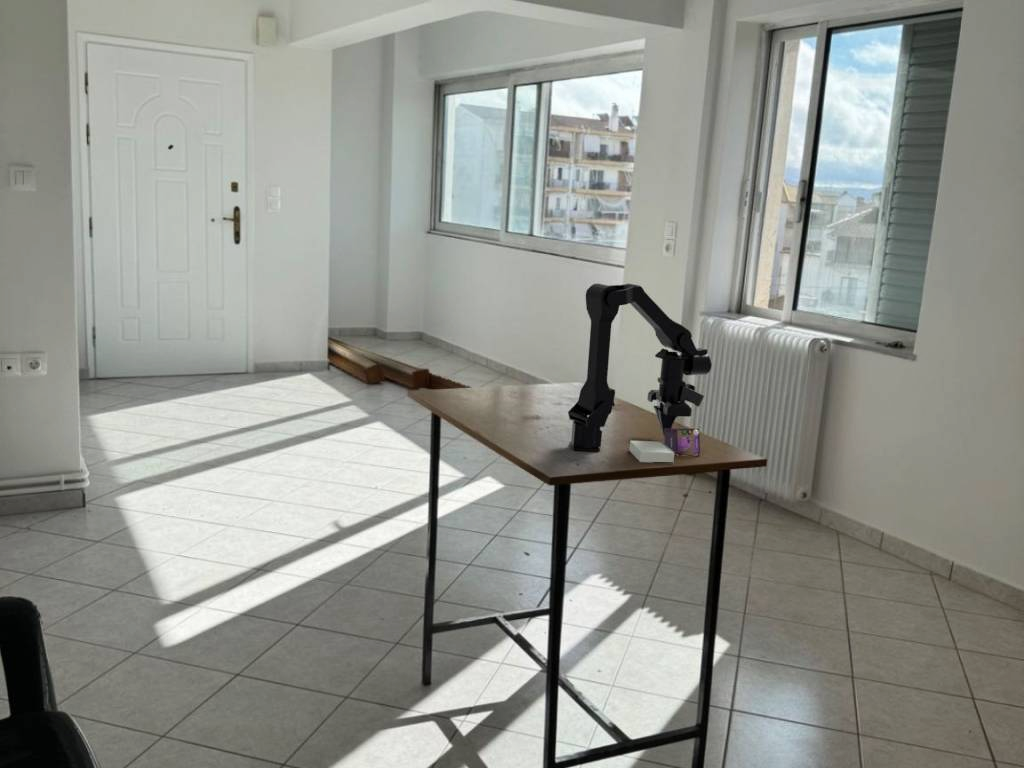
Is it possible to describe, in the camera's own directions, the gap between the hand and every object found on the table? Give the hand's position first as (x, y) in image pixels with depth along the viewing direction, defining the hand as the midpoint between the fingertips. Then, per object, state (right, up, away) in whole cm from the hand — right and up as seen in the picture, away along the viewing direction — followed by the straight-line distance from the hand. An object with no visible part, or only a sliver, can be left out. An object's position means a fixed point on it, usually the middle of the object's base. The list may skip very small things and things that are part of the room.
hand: (665, 435), depth 242 cm
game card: (+2, -4, -10) cm, 11 cm away
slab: (-6, -4, -15) cm, 17 cm away
